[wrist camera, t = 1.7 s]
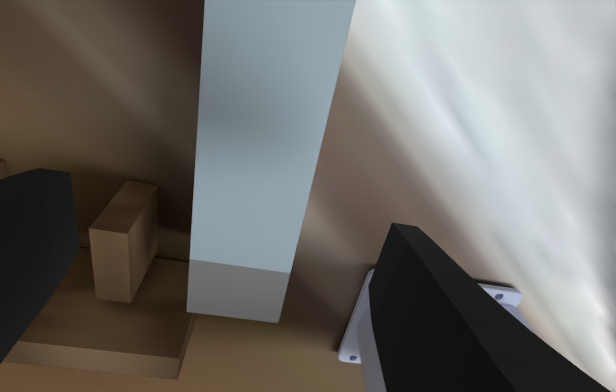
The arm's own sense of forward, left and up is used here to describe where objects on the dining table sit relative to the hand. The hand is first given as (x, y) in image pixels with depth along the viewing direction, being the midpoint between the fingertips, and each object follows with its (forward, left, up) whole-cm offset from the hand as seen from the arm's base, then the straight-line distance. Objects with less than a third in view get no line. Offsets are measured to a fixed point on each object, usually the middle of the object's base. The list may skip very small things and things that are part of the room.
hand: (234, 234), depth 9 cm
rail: (0, 0, -9) cm, 9 cm away
